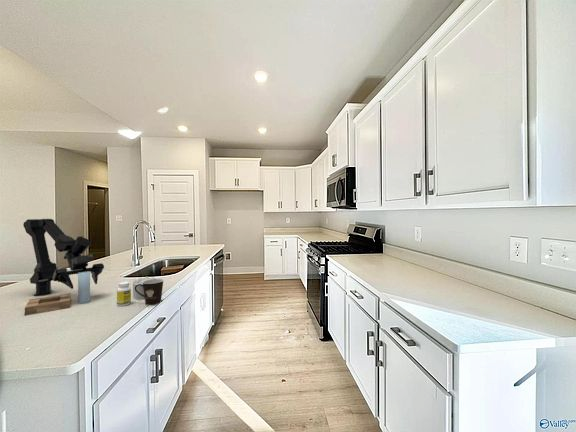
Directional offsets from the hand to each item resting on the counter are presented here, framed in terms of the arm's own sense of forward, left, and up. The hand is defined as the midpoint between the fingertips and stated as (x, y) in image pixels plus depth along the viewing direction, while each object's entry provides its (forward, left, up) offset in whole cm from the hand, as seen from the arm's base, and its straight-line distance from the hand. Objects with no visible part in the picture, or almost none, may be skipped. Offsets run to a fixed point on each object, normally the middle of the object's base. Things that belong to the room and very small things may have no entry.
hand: (84, 285), depth 120 cm
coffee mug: (+19, +24, -8) cm, 32 cm away
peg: (-1, 0, -8) cm, 8 cm away
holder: (-3, -12, -8) cm, 15 cm away
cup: (+5, +24, -8) cm, 26 cm away
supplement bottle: (+14, +14, -8) cm, 21 cm away
